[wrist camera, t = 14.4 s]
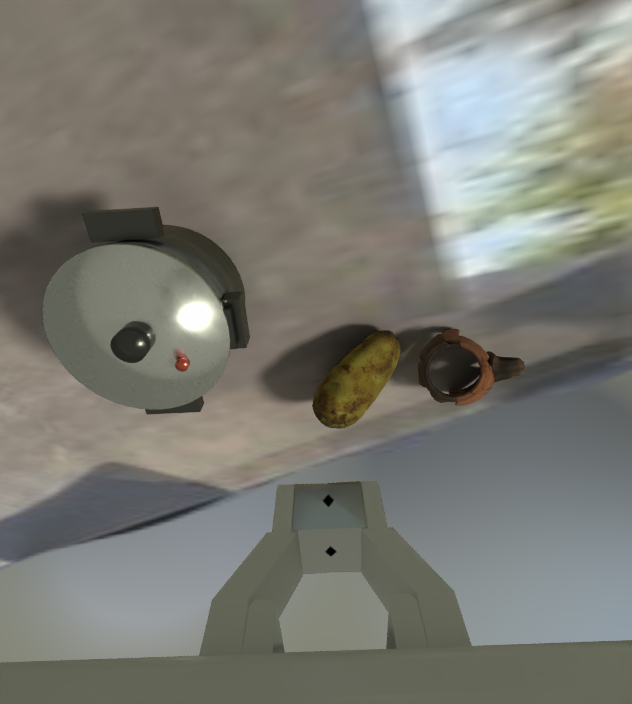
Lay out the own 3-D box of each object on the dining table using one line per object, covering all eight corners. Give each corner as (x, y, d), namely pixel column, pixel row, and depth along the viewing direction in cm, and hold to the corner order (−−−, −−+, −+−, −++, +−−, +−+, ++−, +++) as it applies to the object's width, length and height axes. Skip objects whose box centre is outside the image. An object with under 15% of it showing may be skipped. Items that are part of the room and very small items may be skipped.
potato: (414, 367, 50) (430, 403, 43) (328, 408, 53) (330, 447, 46) (386, 316, 47) (399, 346, 40) (296, 362, 50) (293, 398, 43)
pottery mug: (429, 401, 53) (422, 416, 46) (415, 335, 53) (406, 338, 46) (525, 389, 49) (536, 403, 41) (511, 316, 49) (518, 316, 41)
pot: (80, 204, 41) (16, 218, 32) (243, 194, 40) (223, 206, 32) (135, 375, 50) (97, 422, 42) (266, 368, 50) (256, 414, 41)
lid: (18, 248, 32) (-11, 258, 29) (219, 236, 32) (211, 244, 29) (84, 408, 40) (66, 429, 37) (246, 398, 40) (242, 418, 37)
